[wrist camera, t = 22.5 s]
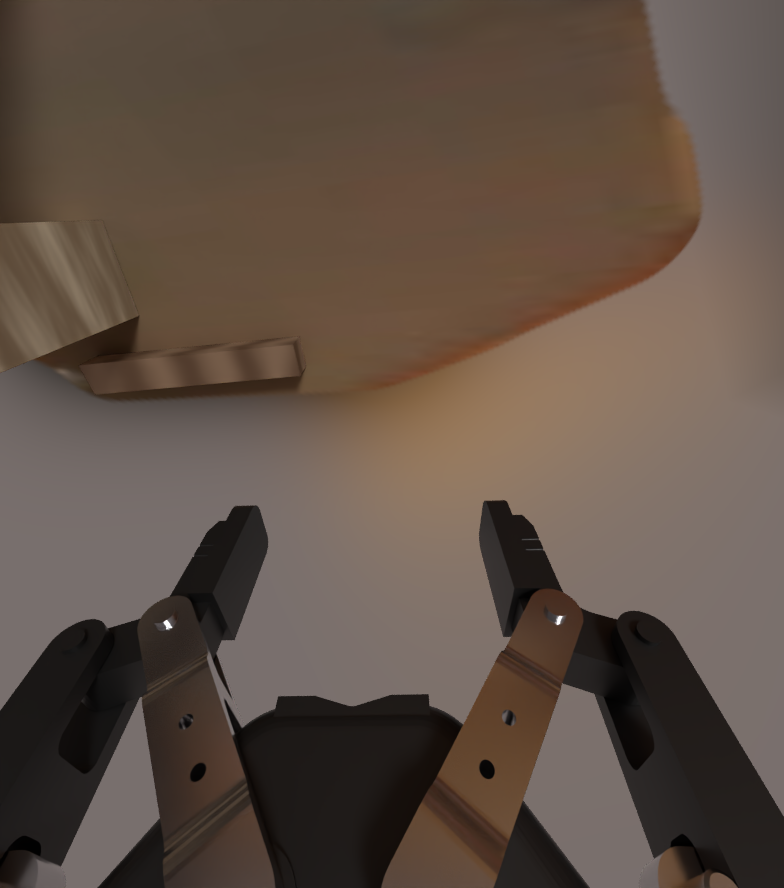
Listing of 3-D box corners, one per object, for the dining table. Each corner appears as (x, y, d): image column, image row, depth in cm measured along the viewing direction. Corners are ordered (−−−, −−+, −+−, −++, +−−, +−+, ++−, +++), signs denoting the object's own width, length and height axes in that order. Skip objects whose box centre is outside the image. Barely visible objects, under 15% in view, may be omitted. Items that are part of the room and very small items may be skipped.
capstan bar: (300, 335, 42) (292, 344, 39) (306, 364, 44) (300, 375, 41) (100, 354, 43) (78, 365, 41) (114, 382, 45) (95, 394, 42)
